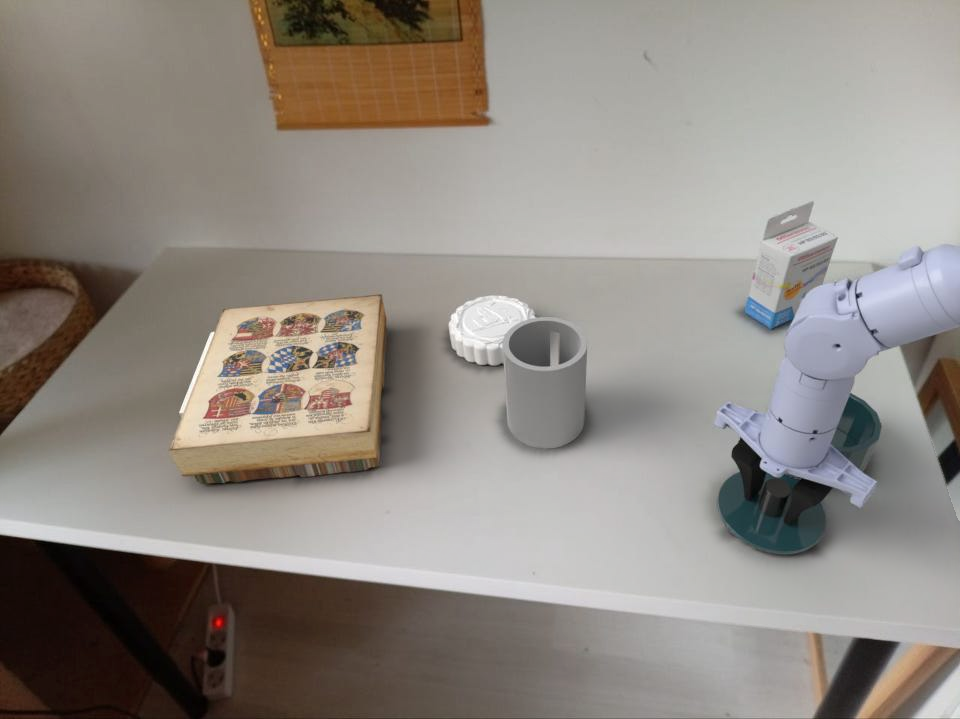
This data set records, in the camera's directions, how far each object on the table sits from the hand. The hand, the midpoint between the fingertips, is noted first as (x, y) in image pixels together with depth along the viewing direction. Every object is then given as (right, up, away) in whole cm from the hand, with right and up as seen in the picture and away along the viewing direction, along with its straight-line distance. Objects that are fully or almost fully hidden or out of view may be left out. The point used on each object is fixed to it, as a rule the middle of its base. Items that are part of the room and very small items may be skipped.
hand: (771, 505), depth 68 cm
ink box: (+12, +21, +26) cm, 35 cm away
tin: (+8, +5, +7) cm, 11 cm away
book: (-54, +10, +20) cm, 58 cm away
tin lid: (0, -1, +1) cm, 1 cm away
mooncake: (-27, +18, +26) cm, 41 cm away
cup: (-21, +7, +13) cm, 26 cm away
